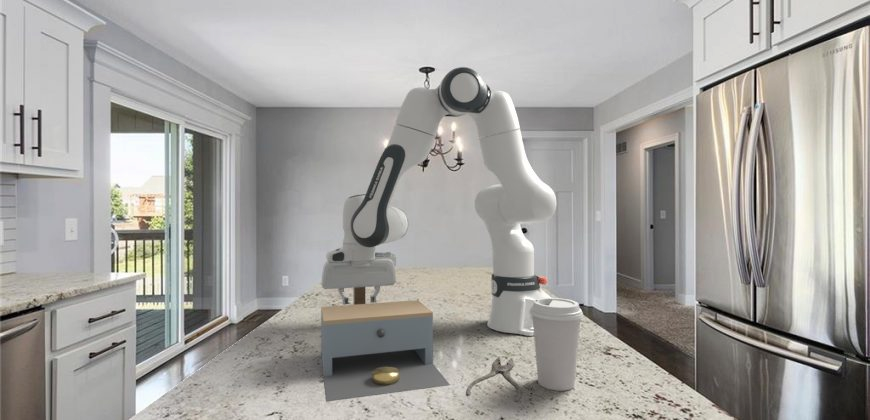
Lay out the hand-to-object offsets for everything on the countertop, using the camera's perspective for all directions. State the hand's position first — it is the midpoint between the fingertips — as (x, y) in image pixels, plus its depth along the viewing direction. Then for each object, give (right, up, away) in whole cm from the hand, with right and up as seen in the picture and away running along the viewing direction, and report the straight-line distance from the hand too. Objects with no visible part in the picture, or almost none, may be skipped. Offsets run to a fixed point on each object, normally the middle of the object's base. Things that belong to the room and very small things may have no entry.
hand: (359, 303), depth 118 cm
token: (+12, -6, -38) cm, 40 cm away
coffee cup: (+43, -7, -39) cm, 59 cm away
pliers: (+32, -7, -36) cm, 49 cm away
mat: (+9, -6, -31) cm, 33 cm away
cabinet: (+8, -6, -27) cm, 29 cm away
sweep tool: (+3, -6, -9) cm, 11 cm away
